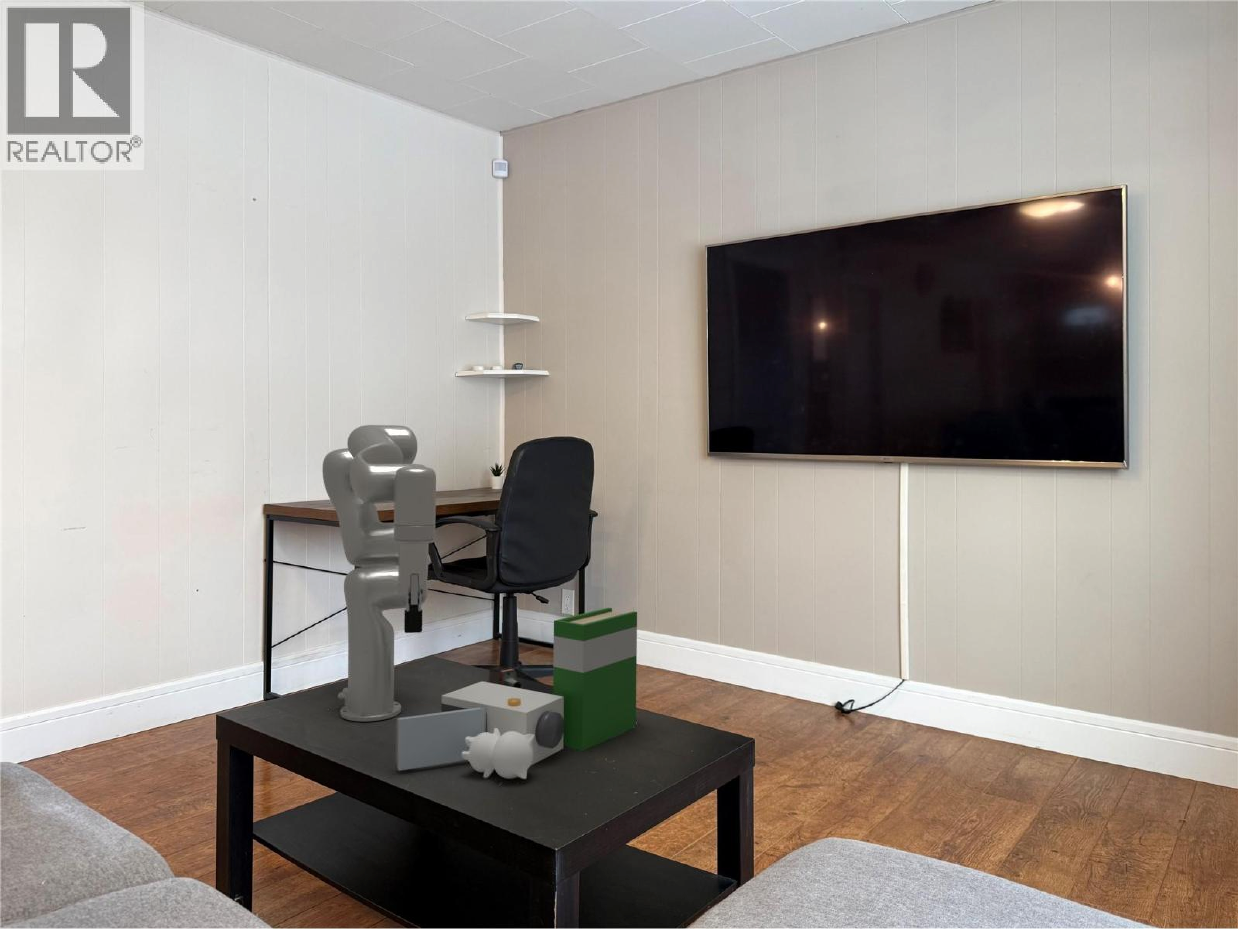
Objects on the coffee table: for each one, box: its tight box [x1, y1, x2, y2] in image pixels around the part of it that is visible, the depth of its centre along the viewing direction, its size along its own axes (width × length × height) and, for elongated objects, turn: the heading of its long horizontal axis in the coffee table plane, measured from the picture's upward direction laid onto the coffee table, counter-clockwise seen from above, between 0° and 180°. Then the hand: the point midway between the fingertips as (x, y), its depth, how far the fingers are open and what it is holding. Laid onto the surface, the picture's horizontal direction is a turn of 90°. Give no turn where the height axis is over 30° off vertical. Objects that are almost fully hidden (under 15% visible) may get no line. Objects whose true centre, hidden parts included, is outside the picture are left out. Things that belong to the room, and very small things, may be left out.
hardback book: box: [552, 607, 638, 752], centre depth 177 cm, size 18×7×24 cm, turn 144°
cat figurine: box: [462, 728, 535, 780], centre depth 156 cm, size 9×11×12 cm
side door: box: [395, 707, 486, 772], centre depth 160 cm, size 16×3×9 cm, turn 117°
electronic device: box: [488, 667, 522, 689], centre depth 198 cm, size 4×10×8 cm, turn 42°
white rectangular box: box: [440, 681, 564, 767], centre depth 168 cm, size 22×12×11 cm, turn 60°
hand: (413, 631), depth 164 cm, fingers closed
